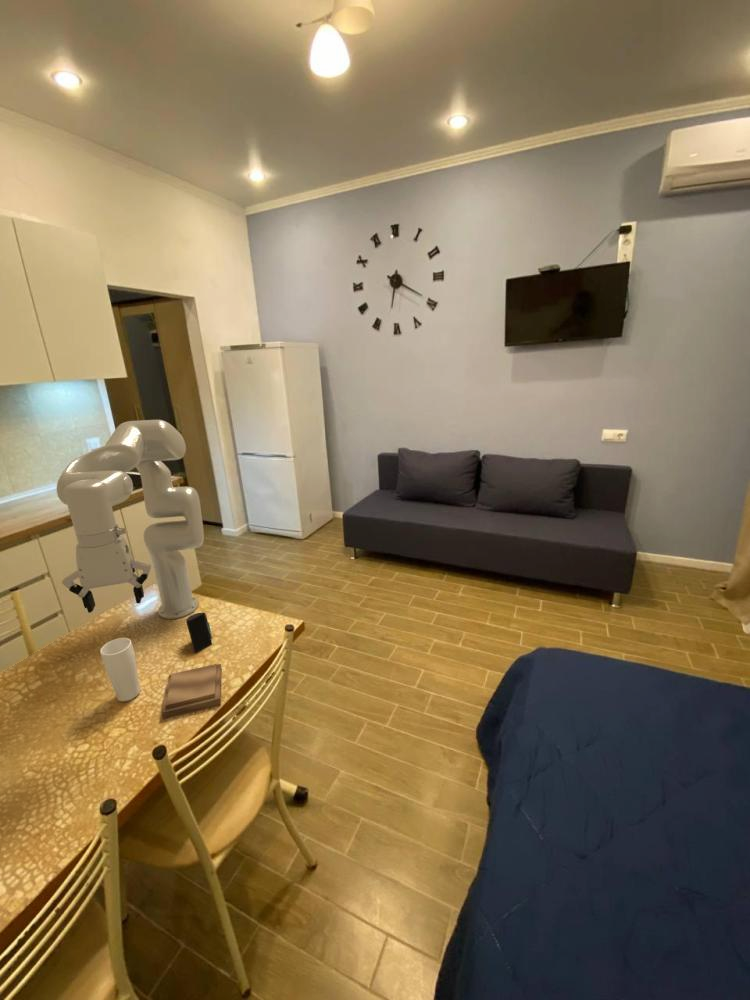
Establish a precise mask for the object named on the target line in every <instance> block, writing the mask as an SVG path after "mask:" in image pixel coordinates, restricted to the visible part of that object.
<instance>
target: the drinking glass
mask: <svg viewBox="0 0 750 1000" xmlns="http://www.w3.org/2000/svg"><path fill="white" fill-rule="evenodd" d="M99 652H100V658H101V662H102V665H103V667H104V668H103V669H104V670H105V672H106V674H107V677H108V680H109V682H110V684H111V687H112V688H113V692H114V694H115V696H116V697H115V698H116V700H118V701H119V702H121V703H122V702H123V703H124V702H129V701H131V700H133V699H135V698H136V697H137V696H138V695H139V694H140V692H141V686H140V682H139V681H140V680H139V674H138V666H137V661H136V660H137V659H136V654H135V653H136V652H135V649H134V646H133V642H132V640H131V639H130V638H127V637H118V638H115V639H112V640H110V641H107V642H106V643H105V644H104V645H103V646H102V647H101V648H100V651H99Z"/></svg>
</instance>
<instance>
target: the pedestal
mask: <svg viewBox="0 0 750 1000" xmlns="http://www.w3.org/2000/svg"><path fill="white" fill-rule="evenodd" d="M222 674H223V669H222V664H221V663H219V664H218V663H215V664H211V665H210V664H209V665H206V666H205V665H204V666H201V667H198V668H197V667H196V668H193V669H188V670H184V671H178V672H174V673H171V674H169V675H168V678H167V683H166V687H165V693H164V699H163V703H162V709H161V716H162V719H163V720H165V719H169V718H174V717H177V716H181V715H186V714H189V713H193V712H198V711H202V710H205V709H211V708H213V707H214V708H215V707H218V706H221V705H222V681H223V680H222V679H223V678H222V676H223V675H222Z"/></svg>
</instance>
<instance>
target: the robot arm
mask: <svg viewBox="0 0 750 1000" xmlns="http://www.w3.org/2000/svg"><path fill="white" fill-rule="evenodd" d="M186 451H187V446H186V442H185V439H184V437H183V436H182V434H181V433H180V432H179V431H178V430H177V428H175V427H174V426H173V425H172V424H171V423H169V422H167V421H166V420H162V419H147V420H146V419H143V420H128V421H125V422H122V423H120V424H119V425H118V426H117V427H116V429H114V431H113V432H112V434H111V435H110V437H109V439H108V440H107V441H106V443H105V445H103V446H100V447H98V448H96V449H94V450H92V451H90V452H87V453H86V454H83V455H81V456H79V457H77V458H75V459H73V460H72V461H71V462H70V463H69V464H68V465H67V466H66V467H65V469H64V470H63V471H62V473H61V474H60V476H59V478H58V480H57V483H56V494H57V497H58V499H59V501H61V503H63V504H64V505H66V506H67V508H68V512H69V516H70V518H71V519H70V520H71V523H72V526H73V530H74V534H75V538H76V541H77V544H76V546H75V557H76V560H75V561H76V569H77V570H75V571H73V572H72V573H71V574H69V575H67V576H66V577H64V578H63V579H62V581H61V584H62V585H63V586H65V588H66V589H69V591H70V592H71V593H73V594H75V595H77V596H78V598H80V599H81V600H82V603H83V607H84V609H87V610H86V611H87V612H88V614H89V613H92V612H93V611H94V609H95V607H96V602H95V599H94V594H93V592H92V591H91V590H90V589H95V588H96V589H97V588H103V587H108V586H114V585H120V584H125V583H128V584H130V585H132V586H133V590H132V591H133V595H134V598H135V603H136V604H141V602H142V599H143V598H144V597H145V592H144V588H143V584H144V582H146V580H147V579H148V576H149V574H150V571H151V569H152V565H153V569H154V574H155V578H156V579H155V580H156V585H157V589H158V593H159V598H160V602H161V605H160V606H159V607H158V609H157V612H158V616H159V617H160V618H163V619H166V620H172V619H173V620H174V619H179V618H182V617H186V616H188V615H190V614H191V613H193V612H195V610H196V609H197V608H198V607H199V600H198V598H197V597H196V596H193V593H192V589H191V588H192V587H191V583H190V579H189V578H190V577H189V572H188V566H187V562H186V559H185V557H184V555H183V553H181V552H180V551H185V550H192V549H193V550H194V549H198V548H200V547H201V546H203V544H204V539H205V532H204V531H205V530H204V523H203V517H202V516H203V515H202V507H201V500H200V496H199V493H198V491H197V490H196V489H195V488H194V487H192V486H175V487H174V486H173V481H172V480H173V479H172V472H171V470H170V468H169V467H168V466H167V465H166V464H165V463H164V462H165V461H176V460H177V461H178V460H181V459H182V458H184V456H185V454H186ZM163 461H164V462H163ZM134 469H136V470H137V471H138V473H139V475H140V479H141V486H142V493H143V498H144V499H143V501H144V506H145V511H146V514H147V516H149V517H150V518H153V519H166V518H168V519H169V518H179V517H180V518H181V517H183V518H184V520H183V519H182V520H171V521H169V520H168V521H161V522H155V523H151V524H149V525H148V526H147V527H146V528H145V530H144V531H143V541H144V544H145V546H146V549H147V551H148V553H149V555H150V559H151V562H152V564H150V563H145V562H142V561H137V560H134V558H133V555H132V553H131V550H130V547H129V544H128V543H127V540H126V539H125V537H124V535H126V528H125V527H119V526H118V524H117V523H116V519H115V514H114V510H113V507H114V506H117V505H119V504H121V503H124V502H126V500H128V499H129V498H130V496H131V495H132V494H133V493H132V492H133V491H134V484H133V480H132V478H131V477H130V475H129V474H128V472H131V471H133V470H134ZM136 570H141V571H142V573H141V575H138V574H136ZM76 579H79V582H80V585H79V584H77V583H75V582H74V581H75V580H76Z"/></svg>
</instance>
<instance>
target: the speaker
mask: <svg viewBox="0 0 750 1000" xmlns="http://www.w3.org/2000/svg"><path fill="white" fill-rule="evenodd" d="M185 621H186V625H187V629H188V630H187V631H188V634H189V636H190V640H191V644H192V647H193V650H194V651H193V652H194V654H198V653H199V652H202V651H203V650H204V649H206V648H208V647H210V646H211V645H213V642H212V640H213V637H212V633H211V632H212V630H211V627H210V622H209V621H208V618H207V613H206V612H196V613H194V614H192V615H189V616H188V617H187V619H185Z"/></svg>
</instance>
